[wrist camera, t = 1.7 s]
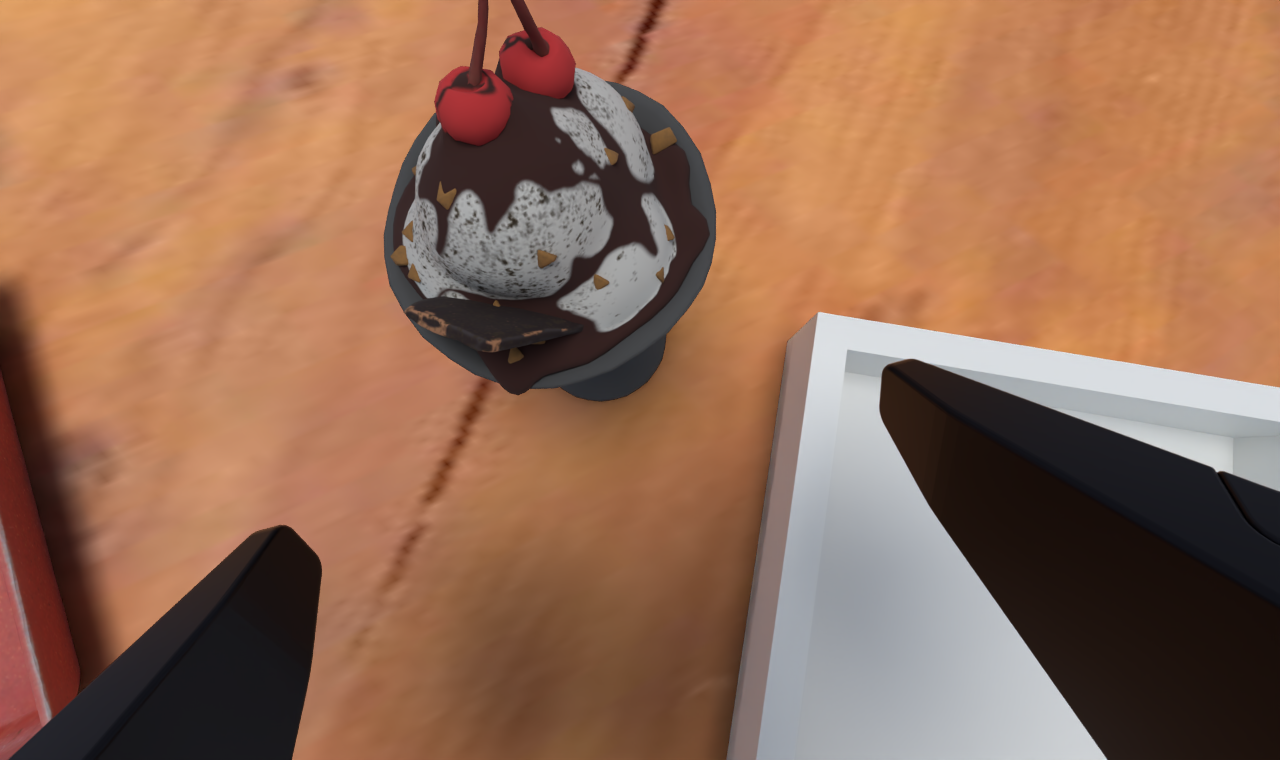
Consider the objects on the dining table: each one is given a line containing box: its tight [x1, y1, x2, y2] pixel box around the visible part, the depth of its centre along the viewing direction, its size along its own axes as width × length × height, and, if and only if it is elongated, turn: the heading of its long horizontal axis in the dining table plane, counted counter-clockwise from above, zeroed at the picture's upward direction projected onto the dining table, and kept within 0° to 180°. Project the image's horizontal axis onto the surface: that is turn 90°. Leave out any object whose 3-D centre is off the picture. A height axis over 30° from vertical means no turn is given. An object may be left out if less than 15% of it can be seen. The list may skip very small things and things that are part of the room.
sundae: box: [384, 0, 716, 401], centre depth 13 cm, size 7×7×15 cm
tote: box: [726, 312, 1280, 760], centre depth 17 cm, size 18×16×4 cm
